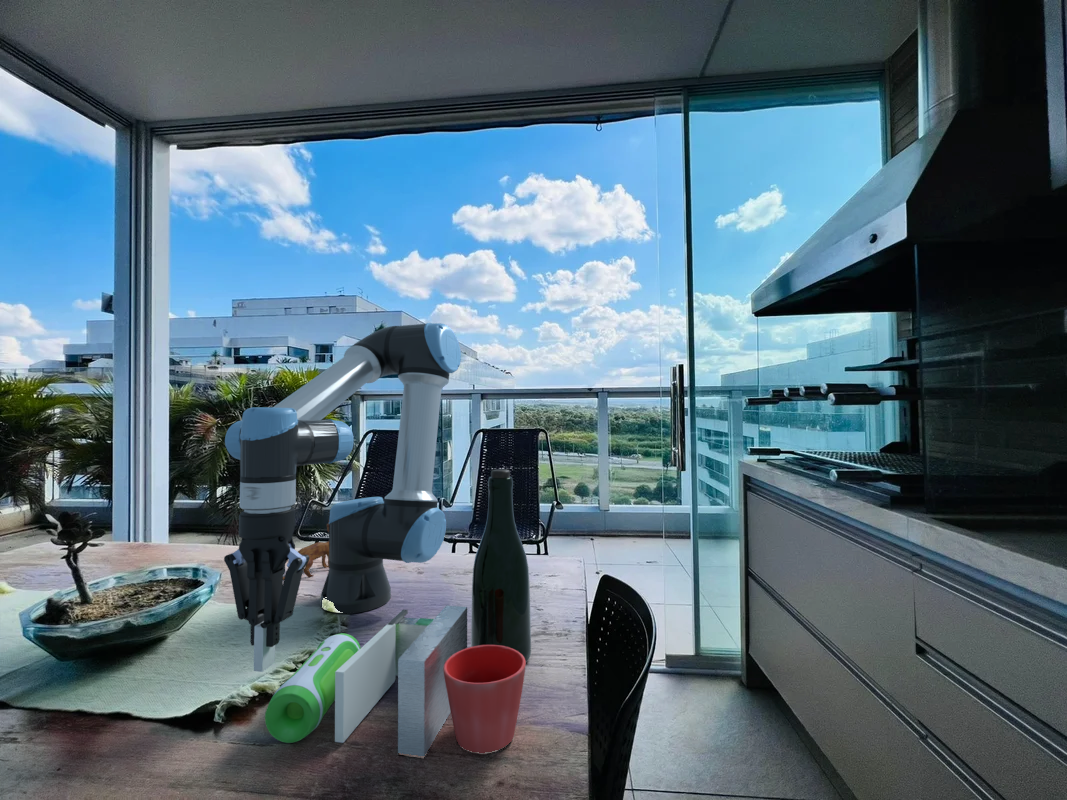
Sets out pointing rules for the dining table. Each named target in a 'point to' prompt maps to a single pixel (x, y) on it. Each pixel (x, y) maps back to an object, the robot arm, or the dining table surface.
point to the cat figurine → (315, 554)
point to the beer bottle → (501, 576)
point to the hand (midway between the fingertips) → (264, 666)
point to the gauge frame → (425, 675)
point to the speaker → (309, 690)
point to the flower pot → (484, 695)
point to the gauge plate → (364, 679)
